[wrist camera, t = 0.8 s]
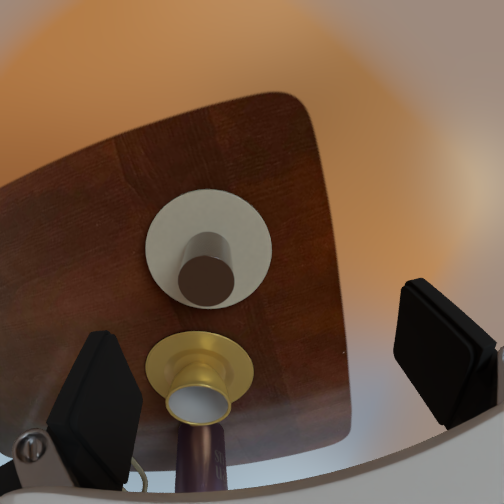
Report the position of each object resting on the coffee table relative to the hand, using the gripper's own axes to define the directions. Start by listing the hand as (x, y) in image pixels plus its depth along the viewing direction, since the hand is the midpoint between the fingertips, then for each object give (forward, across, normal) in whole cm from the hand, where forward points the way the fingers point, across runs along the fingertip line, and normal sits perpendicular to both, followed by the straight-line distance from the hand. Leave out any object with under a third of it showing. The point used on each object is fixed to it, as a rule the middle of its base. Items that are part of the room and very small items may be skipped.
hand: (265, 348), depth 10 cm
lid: (+18, +3, +3) cm, 19 cm away
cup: (+19, +7, +17) cm, 27 cm away
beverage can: (+19, +9, +28) cm, 35 cm away
